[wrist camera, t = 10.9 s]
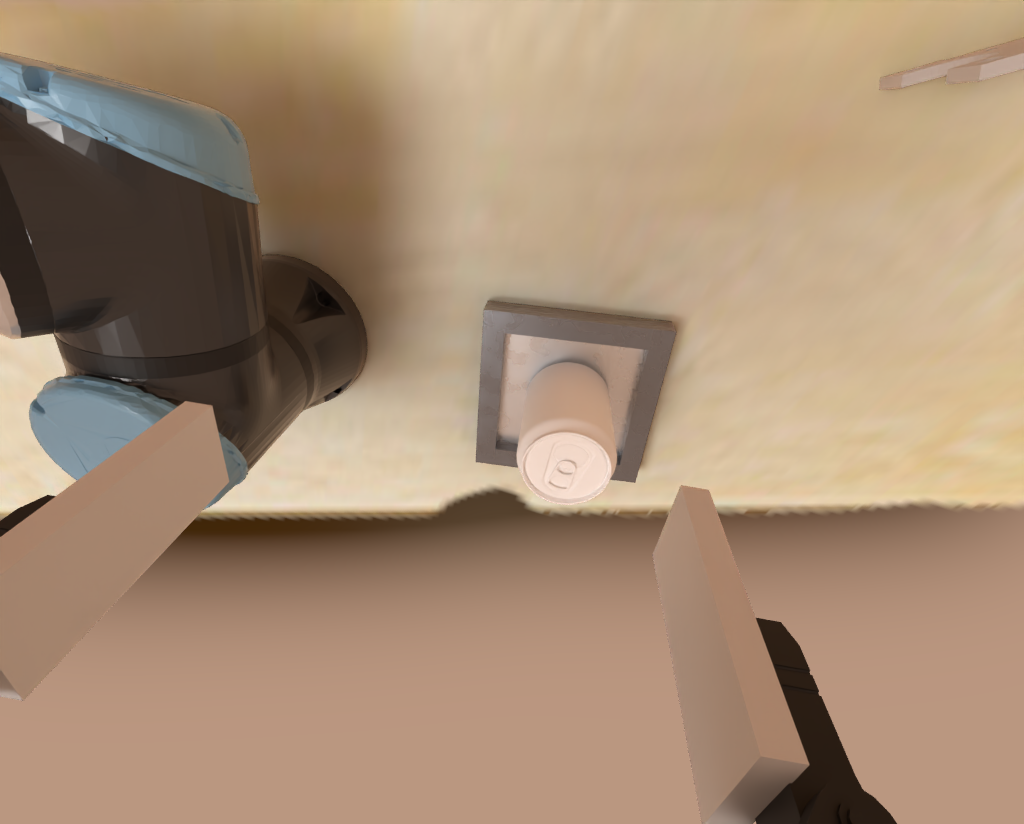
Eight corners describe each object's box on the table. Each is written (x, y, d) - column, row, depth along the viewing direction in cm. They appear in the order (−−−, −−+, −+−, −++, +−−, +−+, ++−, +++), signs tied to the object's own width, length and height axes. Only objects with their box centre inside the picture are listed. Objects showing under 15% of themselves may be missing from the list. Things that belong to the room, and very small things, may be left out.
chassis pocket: (479, 448, 55) (475, 462, 52) (487, 300, 46) (483, 309, 44) (632, 468, 54) (635, 482, 52) (671, 321, 45) (676, 331, 43)
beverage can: (622, 374, 47) (636, 446, 37) (590, 439, 51) (594, 520, 41) (542, 347, 46) (533, 413, 36) (516, 416, 51) (502, 492, 40)
